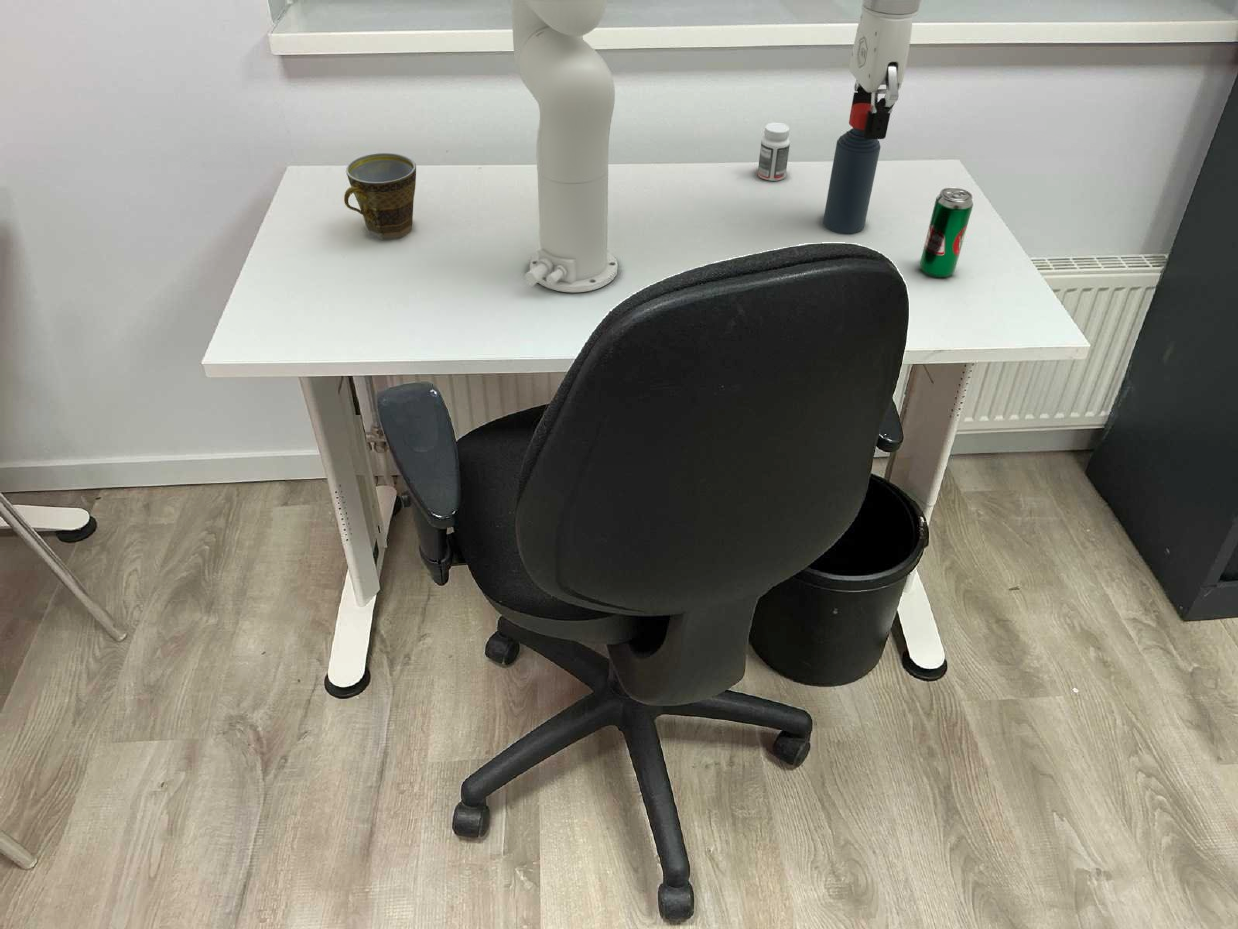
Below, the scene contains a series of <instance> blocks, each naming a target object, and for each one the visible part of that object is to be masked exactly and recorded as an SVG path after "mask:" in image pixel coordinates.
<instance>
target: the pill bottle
mask: <svg viewBox="0 0 1238 929" xmlns="http://www.w3.org/2000/svg"><path fill="white" fill-rule="evenodd" d="M789 136H790V126H789V125H787V124H785V123H783V122H769V123H767V124H765V126H764V131H763V136H762V138H761V141H760V149H759V158H758V168H757V175H758V177H759V178H761V179H763V180H765V181H771V182H776V181H781V180H783V179H784V178H785V177H786V175H787V168H788V161H789V155H790V154H789V153H790V146H791V140H790V138H789Z"/></svg>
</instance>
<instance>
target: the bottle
mask: <svg viewBox="0 0 1238 929" xmlns="http://www.w3.org/2000/svg"><path fill="white" fill-rule="evenodd" d="M863 134H864V130H862V129H857V128H854V127H852V128H851V129H849V130H848V131H846V132H845V133H843V134H842V135H840V136H839V138H838V139H837V140H836V143H835V151H834V155H833V156H834V157H833V161H832V168H831V174H830V178H829V184H828V190H827V196H826V201H825V208H824V213H823V219H822V224H823V226H824V227H825V228H826V229H827V230H829V231H831V232H834V233H838V234H844V235H853V234H857V233H860V232H862V231H863V230H864V228H865V225H866V219H867V217H868V216H867V215H868V210H869V207H870V206H869V205H870V200H871V195H872V190H873V186H874V182H875V178H876V177H875V176H876V172H877V166H878V161H879V157H880V152H881V147H882V146H881V144H880V140H879V139H868V140H866V139H864V137H863Z"/></svg>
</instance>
